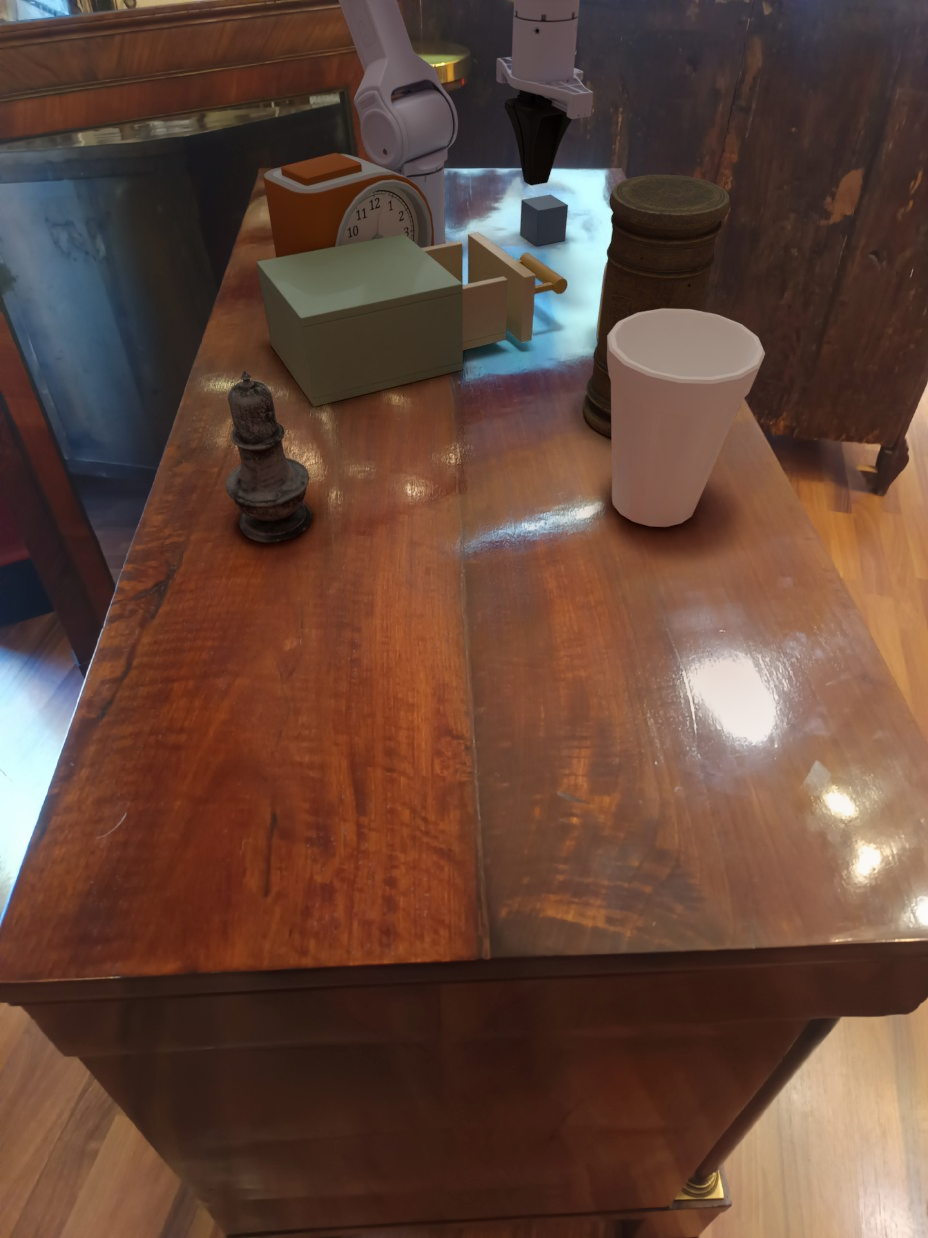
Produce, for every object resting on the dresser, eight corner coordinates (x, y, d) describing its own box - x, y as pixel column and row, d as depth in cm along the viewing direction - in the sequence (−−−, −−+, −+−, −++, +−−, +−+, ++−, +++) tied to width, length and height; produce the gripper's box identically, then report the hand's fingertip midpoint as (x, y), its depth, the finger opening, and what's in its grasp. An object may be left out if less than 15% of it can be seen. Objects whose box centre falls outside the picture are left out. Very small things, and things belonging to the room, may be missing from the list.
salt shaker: (274, 556, 58) (241, 405, 49) (218, 524, 60) (177, 375, 52) (332, 514, 61) (310, 366, 53) (277, 486, 64) (247, 340, 55)
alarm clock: (323, 335, 81) (304, 187, 71) (276, 306, 86) (252, 164, 76) (437, 292, 88) (434, 152, 78) (389, 267, 92) (380, 132, 83)
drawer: (519, 285, 87) (522, 223, 83) (576, 329, 80) (582, 264, 75) (356, 320, 81) (350, 256, 77) (402, 372, 74) (398, 304, 70)
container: (686, 450, 67) (739, 219, 54) (577, 438, 68) (602, 209, 55) (688, 394, 73) (735, 174, 60) (587, 384, 74) (612, 167, 62)
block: (519, 234, 99) (521, 199, 96) (548, 228, 101) (550, 193, 98) (536, 246, 97) (538, 210, 94) (565, 240, 98) (568, 204, 95)
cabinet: (408, 314, 84) (404, 233, 78) (463, 369, 76) (463, 283, 71) (271, 345, 80) (255, 261, 74) (313, 407, 72) (300, 317, 66)
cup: (740, 541, 59) (792, 374, 50) (605, 554, 58) (632, 387, 49) (693, 461, 66) (731, 302, 57) (572, 472, 65) (590, 312, 56)
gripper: (630, 26, 69) (609, 199, 79) (544, -3, 78) (535, 155, 88) (557, 34, 67) (545, 210, 76) (478, 3, 76) (476, 164, 86)
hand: (535, 181), depth 82 cm, fingers closed
